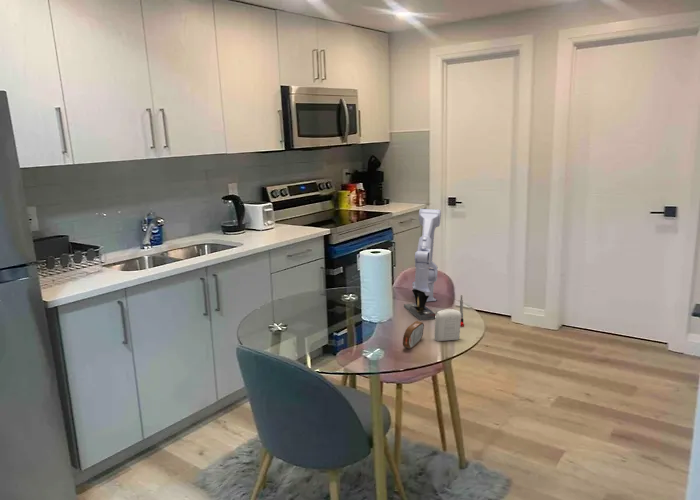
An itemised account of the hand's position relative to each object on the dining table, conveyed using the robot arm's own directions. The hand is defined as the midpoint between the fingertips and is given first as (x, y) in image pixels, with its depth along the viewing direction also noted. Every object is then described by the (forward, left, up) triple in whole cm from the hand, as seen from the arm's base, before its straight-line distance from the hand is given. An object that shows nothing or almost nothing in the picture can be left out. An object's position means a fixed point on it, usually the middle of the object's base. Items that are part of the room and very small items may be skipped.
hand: (420, 306), depth 239 cm
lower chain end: (-3, 0, -4) cm, 5 cm away
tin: (+30, -17, -4) cm, 35 cm away
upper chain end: (+2, 0, -4) cm, 4 cm away
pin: (0, 0, -2) cm, 2 cm away
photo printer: (+29, -2, -4) cm, 29 cm away
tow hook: (+15, +8, -4) cm, 17 cm away
